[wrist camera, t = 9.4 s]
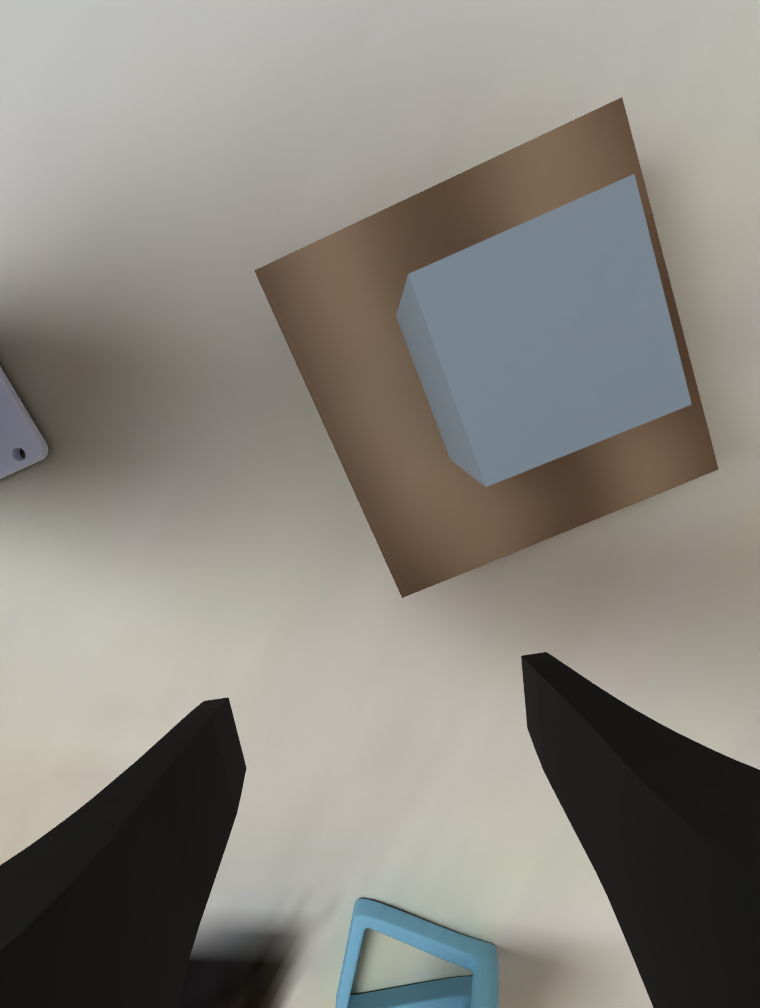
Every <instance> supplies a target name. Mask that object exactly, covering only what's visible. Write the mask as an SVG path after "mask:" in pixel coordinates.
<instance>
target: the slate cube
mask: <svg viewBox="0 0 760 1008" xmlns="http://www.w3.org/2000/svg"><path fill="white" fill-rule="evenodd" d="M396 318H397V320H398V323H399V326H400V328H401V331H402V333H403V336H404V339H405V341H406V344H407V347H408V349H409V352H410V355H411V357H412V360H413V362H414V365H415V368H416V370H417V373H418V376H419V378H420V381H421V384H422V386H423V389H424V392H425V394H426V397H427V399H428V402H429V405H430V407H431V410H432V413H433V415H434V418H435V421H436V423H437V426H438V428H439V431H440V434H441V436H442V439H443V442H444V444H445V447H446V450H447V452H448V455H449V458H450V460H451V461H453V462H454V463H455V464H456V465H458V466H459V467H460V468H462V469H463V470H464V471H466V472H467V473H468V474H469V475H471V476H472V477H473V478H475V479H476V480H477V481H479V482H480V483H481V484H483V485H484V486H485V487H488V486H490V485H493V484H495V483H498V482H500V481H503V480H505V479H508V478H510V477H513V476H515V475H518V474H520V473H523V472H525V471H528V470H530V469H533V468H535V467H537V466H540V465H542V464H545V463H547V462H550V461H552V460H555V459H557V458H560V457H562V456H565V455H567V454H570V453H572V452H575V451H577V450H580V449H582V448H585V447H587V446H590V445H592V444H595V443H597V442H600V441H602V440H605V439H607V438H610V437H612V436H615V435H617V434H620V433H622V432H625V431H627V430H629V429H632V428H634V427H637V426H639V425H642V424H644V423H647V422H649V421H652V420H654V419H657V418H659V417H662V416H664V415H667V414H669V413H672V412H674V411H677V410H679V409H682V408H684V407H687V406H689V405H692V404H691V400H690V396H689V392H688V388H687V384H686V379H685V375H684V371H683V367H682V363H681V359H680V355H679V351H678V347H677V343H676V339H675V335H674V331H673V327H672V323H671V319H670V315H669V311H668V307H667V303H666V299H665V295H664V291H663V287H662V283H661V279H660V275H659V271H658V267H657V263H656V259H655V255H654V251H653V247H652V243H651V239H650V235H649V230H648V226H647V222H646V218H645V214H644V210H643V206H642V202H641V198H640V194H639V190H638V186H637V182H636V178H635V174H633V175H631V176H628V177H626V178H624V179H622V180H619V181H617V182H615V183H613V184H610V185H608V186H606V187H604V188H601V189H599V190H597V191H595V192H592V193H590V194H588V195H586V196H583V197H581V198H579V199H577V200H574V201H572V202H570V203H568V204H565V205H563V206H561V207H558V208H556V209H554V210H552V211H549V212H547V213H545V214H543V215H540V216H538V217H536V218H534V219H531V220H529V221H527V222H525V223H522V224H520V225H518V226H516V227H513V228H511V229H509V230H507V231H504V232H502V233H500V234H497V235H495V236H493V237H491V238H488V239H486V240H484V241H482V242H479V243H477V244H475V245H473V246H470V247H468V248H466V249H464V250H461V251H459V252H457V253H455V254H452V255H450V256H448V257H446V258H443V259H441V260H439V261H436V262H434V263H432V264H430V265H427V266H425V267H423V268H421V269H418V270H416V271H414V272H412V273H409V274H408V276H407V280H406V283H405V287H404V290H403V294H402V297H401V301H400V304H399V308H398V311H397V314H396Z"/></svg>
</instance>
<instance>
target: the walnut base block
mask: <svg viewBox="0 0 760 1008" xmlns="http://www.w3.org/2000/svg"><path fill="white" fill-rule="evenodd" d="M633 174H635V178H636V182H637V186H638V190H639V194H640V198H641V202H642V206H643V210H644V214H645V218H646V222H647V226H648V230H649V235H650V239H651V243H652V247H653V251H654V255H655V259H656V263H657V267H658V271H659V275H660V279H661V283H662V287H663V291H664V295H665V299H666V303H667V307H668V311H669V315H670V319H671V323H672V327H673V331H674V335H675V339H676V343H677V347H678V351H679V355H680V359H681V363H682V367H683V371H684V375H685V379H686V384H687V388H688V392H689V396H690V400H691V404H692V405H689V406H687V407H684V408H682V409H679V410H677V411H674V412H672V413H669V414H667V415H664V416H662V417H659V418H657V419H654V420H652V421H649V422H647V423H644V424H642V425H639V426H637V427H634V428H632V429H629V430H627V431H625V432H622V433H620V434H617V435H615V436H612V437H610V438H607V439H605V440H602V441H600V442H597V443H595V444H592V445H590V446H587V447H585V448H582V449H580V450H577V451H575V452H572V453H570V454H567V455H565V456H562V457H560V458H557V459H555V460H552V461H550V462H547V463H545V464H542V465H540V466H537V467H535V468H533V469H530V470H528V471H525V472H523V473H520V474H518V475H515V476H513V477H510V478H508V479H505V480H503V481H500V482H498V483H495V484H493V485H490V486H488V487H485V486H484V485H483V484H481V483H480V482H479V481H477V480H476V479H475V478H473V477H472V476H471V475H469V474H468V473H467V472H466V471H464V470H463V469H462V468H460V467H459V466H458V465H456V464H455V463H454V462H453V461H451V460H450V458H449V455H448V452H447V450H446V447H445V444H444V442H443V439H442V436H441V434H440V431H439V428H438V426H437V423H436V421H435V418H434V415H433V413H432V410H431V407H430V405H429V402H428V399H427V397H426V394H425V392H424V389H423V386H422V384H421V381H420V378H419V376H418V373H417V370H416V368H415V365H414V362H413V360H412V357H411V355H410V352H409V349H408V347H407V344H406V341H405V339H404V336H403V333H402V331H401V328H400V326H399V323H398V320H397V318H396V314H397V311H398V308H399V304H400V301H401V297H402V294H403V290H404V287H405V283H406V280H407V276H408V274H409V273H412V272H414V271H416V270H418V269H421V268H423V267H425V266H427V265H430V264H432V263H434V262H436V261H439V260H441V259H443V258H446V257H448V256H450V255H452V254H455V253H457V252H459V251H461V250H464V249H466V248H468V247H470V246H473V245H475V244H477V243H479V242H482V241H484V240H486V239H488V238H491V237H493V236H495V235H497V234H500V233H502V232H504V231H507V230H509V229H511V228H513V227H516V226H518V225H520V224H522V223H525V222H527V221H529V220H531V219H534V218H536V217H538V216H540V215H543V214H545V213H547V212H549V211H552V210H554V209H556V208H558V207H561V206H563V205H565V204H568V203H570V202H572V201H574V200H577V199H579V198H581V197H583V196H586V195H588V194H590V193H592V192H595V191H597V190H599V189H601V188H604V187H606V186H608V185H610V184H613V183H615V182H617V181H619V180H622V179H624V178H626V177H628V176H631V175H633ZM255 273H256V275H257V277H258V280H259V282H260V284H261V286H262V288H263V291H264V293H265V295H266V297H267V299H268V302H269V304H270V306H271V308H272V311H273V313H274V315H275V317H276V319H277V322H278V324H279V326H280V328H281V330H282V333H283V335H284V337H285V339H286V342H287V344H288V346H289V348H290V350H291V353H292V355H293V357H294V359H295V361H296V364H297V366H298V368H299V370H300V373H301V375H302V377H303V379H304V381H305V384H306V386H307V388H308V390H309V392H310V395H311V397H312V399H313V401H314V404H315V406H316V408H317V410H318V412H319V415H320V417H321V419H322V421H323V423H324V426H325V428H326V430H327V432H328V435H329V437H330V439H331V441H332V443H333V446H334V448H335V450H336V452H337V454H338V457H339V459H340V461H341V463H342V466H343V468H344V470H345V472H346V474H347V477H348V479H349V481H350V483H351V485H352V488H353V490H354V492H355V494H356V497H357V499H358V501H359V503H360V505H361V508H362V510H363V512H364V514H365V516H366V519H367V521H368V523H369V525H370V527H371V530H372V532H373V534H374V536H375V539H376V541H377V543H378V545H379V547H380V550H381V552H382V554H383V556H384V558H385V561H386V563H387V565H388V567H389V570H390V572H391V574H392V576H393V578H394V581H395V583H396V585H397V587H398V589H399V592H400V594H401V596H402V598H403V597H406V596H408V595H410V594H413V593H415V592H418V591H420V590H423V589H425V588H428V587H430V586H433V585H435V584H437V583H440V582H442V581H445V580H447V579H450V578H452V577H455V576H457V575H460V574H462V573H465V572H467V571H469V570H472V569H474V568H477V567H479V566H482V565H484V564H487V563H489V562H492V561H494V560H496V559H499V558H501V557H504V556H506V555H509V554H511V553H514V552H516V551H519V550H521V549H524V548H526V547H528V546H531V545H533V544H536V543H538V542H541V541H543V540H546V539H548V538H551V537H553V536H555V535H558V534H560V533H563V532H565V531H568V530H570V529H573V528H575V527H578V526H580V525H583V524H585V523H587V522H590V521H592V520H595V519H597V518H600V517H602V516H605V515H607V514H610V513H612V512H614V511H617V510H619V509H622V508H624V507H627V506H629V505H632V504H634V503H637V502H639V501H642V500H644V499H646V498H649V497H651V496H654V495H656V494H659V493H661V492H664V491H666V490H669V489H671V488H673V487H676V486H678V485H681V484H683V483H686V482H688V481H691V480H693V479H696V478H698V477H701V476H703V475H705V474H708V473H710V472H713V471H715V470H718V466H717V462H716V458H715V454H714V450H713V447H712V443H711V439H710V435H709V431H708V427H707V423H706V420H705V416H704V412H703V408H702V404H701V400H700V396H699V393H698V389H697V385H696V381H695V377H694V373H693V369H692V366H691V362H690V358H689V354H688V350H687V346H686V342H685V339H684V335H683V331H682V327H681V323H680V319H679V315H678V311H677V308H676V304H675V300H674V296H673V292H672V288H671V284H670V281H669V277H668V273H667V269H666V265H665V261H664V257H663V254H662V250H661V246H660V242H659V238H658V234H657V230H656V227H655V223H654V219H653V215H652V211H651V207H650V203H649V200H648V196H647V192H646V188H645V184H644V180H643V176H642V172H641V169H640V165H639V161H638V157H637V153H636V149H635V145H634V142H633V138H632V134H631V130H630V126H629V122H628V118H627V115H626V111H625V107H624V103H623V99H622V98H620V99H618V100H615V101H613V102H611V103H609V104H607V105H605V106H603V107H601V108H599V109H596V110H594V111H592V112H590V113H588V114H586V115H584V116H582V117H579V118H577V119H575V120H573V121H571V122H569V123H567V124H565V125H562V126H560V127H558V128H556V129H554V130H552V131H550V132H548V133H545V134H543V135H541V136H539V137H537V138H535V139H533V140H531V141H528V142H526V143H524V144H522V145H520V146H518V147H516V148H514V149H512V150H509V151H507V152H505V153H503V154H501V155H499V156H497V157H495V158H492V159H490V160H488V161H486V162H484V163H482V164H480V165H478V166H475V167H473V168H471V169H469V170H467V171H465V172H463V173H461V174H458V175H456V176H454V177H452V178H450V179H448V180H446V181H444V182H442V183H439V184H437V185H435V186H433V187H431V188H429V189H427V190H425V191H422V192H420V193H418V194H416V195H414V196H412V197H410V198H408V199H405V200H403V201H401V202H399V203H397V204H395V205H393V206H391V207H388V208H386V209H384V210H382V211H380V212H378V213H376V214H374V215H372V216H369V217H367V218H365V219H363V220H361V221H359V222H357V223H355V224H352V225H350V226H348V227H346V228H344V229H342V230H340V231H338V232H335V233H333V234H331V235H329V236H327V237H325V238H323V239H321V240H318V241H316V242H314V243H312V244H310V245H308V246H306V247H304V248H302V249H299V250H297V251H295V252H293V253H291V254H289V255H287V256H285V257H282V258H280V259H278V260H276V261H274V262H272V263H270V264H268V265H265V266H263V267H261V268H259V269H257V270H255Z"/></svg>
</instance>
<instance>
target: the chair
mask: <svg viewBox="0 0 760 1008" xmlns="http://www.w3.org/2000/svg"><path fill="white" fill-rule="evenodd" d="M366 928H370V929H373V930H376V931H378V932H381V933H383V934H385V935H388V936H390V937H392V938H395V939H397V940H400V941H402V942H404V943H407V944H409V945H411V946H414V947H416V948H418V949H420V950H423V951H425V952H427V953H430V954H432V955H434V956H437V957H439V958H441V959H444V960H446V961H449V962H451V963H453V964H456V965H458V966H461V967H464V968H466V969H468V970H471V971H472V973H473V976H463V977H454V978H447V979H441V980H435V981H429V982H423V983H418V984H413V985H407V986H402V987H396V988H391V989H385V990H380V991H374V992H369V993H363V994H357V995H350V993H351V989H352V984H353V980H354V976H355V971H356V967H357V962H358V958H359V954H360V949H361V945H362V941H363V936H364V932H365V930H366ZM335 1008H498V960H497V952H496V947H495V946H494V945H493V944H491V943H488V942H485V941H481V940H478V939H474V938H471V937H468V936H465V935H462V934H459V933H457V932H454V931H451V930H449V929H446V928H443V927H441V926H438V925H436V924H433V923H431V922H428V921H426V920H423V919H421V918H418V917H416V916H413V915H411V914H408V913H406V912H403V911H400V910H398V909H395V908H393V907H390V906H387V905H385V904H382V903H379V902H375V901H372V900H368V899H358V900H357V901H356V902H355V906H354V911H353V916H352V921H351V926H350V931H349V936H348V941H347V946H346V951H345V956H344V961H343V966H342V971H341V976H340V981H339V987H338V992H337V997H336V1007H335Z"/></svg>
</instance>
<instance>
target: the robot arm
mask: <svg viewBox="0 0 760 1008" xmlns="http://www.w3.org/2000/svg"><path fill="white" fill-rule="evenodd" d="M20 449H23V450H24V451H25V454H26V456H25V459H23V458H22V457H21V456H20V453H19V452H20ZM47 455H48V446H47V443H46V442H45V440H44V438H43V437H42V435H41V433H40V432H39V430H38V428H37V427H36V425H35V423H34V422H33V420H32V418H31V417H30V415H29V413H28V412H27V410H26V408H25V407H24V405H23V403H22V402H21V400H20V398H19V397H18V395H17V393H16V392H15V390H14V388H13V387H12V385H11V383H10V382H9V380H8V378H7V377H6V375H5V373H4V372H3V370H2V368H1V367H0V479H2V478H4V477H6V476H8V475H11V474H13V473H15V472H17V471H19V470H21V469H24V468H26V467H28V466H30V465H32V464H34V463H37V462H39V461H41V460H43V459H44V458H46V457H47ZM521 658H522V670H523V682H524V693H525V705H526V717H527V728H528V731H529V734H530V736H531V739H532V742H533V744H534V747H535V750H536V752H537V755H538V758H539V760H540V763H541V765H542V768H543V770H544V772H545V774H546V776H547V778H548V780H549V782H550V784H551V786H552V788H553V790H554V792H555V794H556V796H557V798H558V800H559V802H560V804H561V806H562V807H563V809H564V811H565V813H566V815H567V817H568V819H569V821H570V823H571V825H572V827H573V829H574V831H575V833H576V834H577V836H578V838H579V840H580V842H581V844H582V846H583V848H584V850H585V852H586V854H587V856H588V858H589V859H590V861H591V863H592V865H593V867H594V869H595V871H596V873H597V875H598V877H599V879H600V882H601V884H602V886H603V888H604V890H605V892H606V894H607V896H608V899H609V901H610V903H611V906H612V908H613V910H614V913H615V915H616V918H617V920H618V922H619V925H620V927H621V930H622V932H623V934H624V937H625V939H626V941H627V944H628V946H629V949H630V951H631V953H632V956H633V958H634V961H635V963H636V966H637V968H638V971H639V973H640V975H641V978H642V980H643V983H644V985H645V988H646V990H647V993H648V995H649V998H650V1000H651V1003H652V1005H653V1008H760V770H759V769H756V768H754V767H751V766H749V765H746V764H744V763H741V762H739V761H736V760H734V759H732V758H730V757H727V756H725V755H723V754H720V753H718V752H716V751H714V750H712V749H710V748H708V747H705V746H703V745H701V744H699V743H697V742H695V741H693V740H691V739H689V738H687V737H685V736H683V735H681V734H679V733H677V732H675V731H673V730H671V729H669V728H667V727H665V726H663V725H661V724H660V723H658V722H656V721H654V720H652V719H651V718H649V717H647V716H645V715H644V714H642V713H640V712H638V711H637V710H635V709H633V708H631V707H630V706H628V705H626V704H625V703H623V702H621V701H620V700H618V699H617V698H615V697H613V696H612V695H610V694H609V693H607V692H605V691H604V690H602V689H601V688H599V687H598V686H596V685H595V684H593V683H592V682H590V681H589V680H587V679H586V678H584V677H583V676H581V675H580V674H578V673H577V672H575V671H574V670H572V669H571V668H569V667H568V666H566V665H565V664H563V663H562V662H561V661H559V660H558V659H556V658H555V657H553V656H552V655H550V654H548V653H547V652H544V653H537V654H530V655H523V656H521ZM245 772H246V765H245V761H244V757H243V753H242V749H241V745H240V741H239V737H238V733H237V729H236V725H235V721H234V717H233V713H232V709H231V706H230V702H229V698H222V699H215V700H208V701H204V702H202V703H201V704H200V705H199V706H197V707H196V708H195V709H194V710H193V711H191V712H190V713H189V714H188V715H187V716H186V717H185V718H183V719H182V720H181V721H180V722H179V723H178V724H177V725H176V726H175V727H174V728H172V729H171V730H170V731H169V732H168V733H167V734H166V735H165V736H164V737H163V738H161V739H160V740H159V741H158V742H157V743H156V744H155V745H154V746H153V747H152V748H150V749H149V750H148V751H147V752H146V753H145V754H144V755H143V756H142V757H140V758H139V759H138V760H137V761H136V762H135V763H134V764H133V765H131V766H130V767H129V768H128V769H127V770H126V771H124V772H123V773H122V774H121V775H120V776H118V777H117V778H116V779H115V780H114V781H112V782H111V783H110V784H109V785H108V786H107V787H105V788H104V789H103V790H102V791H101V792H99V793H98V794H97V795H96V796H95V797H94V798H92V799H91V800H90V801H89V802H87V803H86V804H85V805H84V806H82V807H81V808H80V809H79V810H77V811H76V812H75V813H73V814H72V815H71V816H70V817H68V818H67V819H66V820H64V821H63V822H62V823H60V824H59V825H57V826H56V827H55V828H53V829H52V830H51V831H49V832H48V833H47V834H45V835H44V836H43V837H41V838H40V839H38V840H37V841H36V842H34V843H33V844H31V845H30V846H29V847H27V848H26V849H24V850H23V851H21V852H20V853H18V854H17V855H15V856H14V857H12V858H11V859H9V860H8V861H6V862H5V863H3V864H2V865H0V1008H177V1006H178V1002H179V998H180V994H181V990H182V986H183V982H184V978H185V974H186V970H187V966H188V962H189V958H190V955H191V951H192V948H193V944H194V941H195V938H196V934H197V931H198V928H199V925H200V922H201V919H202V916H203V913H204V910H205V907H206V904H207V901H208V898H209V895H210V892H211V889H212V886H213V883H214V880H215V877H216V874H217V871H218V869H219V866H220V863H221V860H222V857H223V854H224V851H225V848H226V845H227V842H228V839H229V836H230V833H231V830H232V827H233V824H234V820H235V817H236V814H237V810H238V806H239V801H240V797H241V792H242V787H243V782H244V777H245Z"/></svg>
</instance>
